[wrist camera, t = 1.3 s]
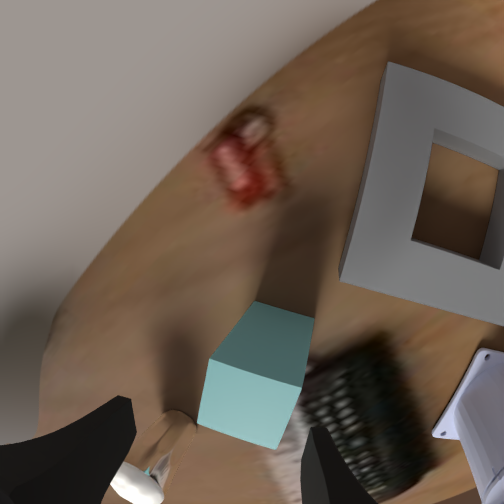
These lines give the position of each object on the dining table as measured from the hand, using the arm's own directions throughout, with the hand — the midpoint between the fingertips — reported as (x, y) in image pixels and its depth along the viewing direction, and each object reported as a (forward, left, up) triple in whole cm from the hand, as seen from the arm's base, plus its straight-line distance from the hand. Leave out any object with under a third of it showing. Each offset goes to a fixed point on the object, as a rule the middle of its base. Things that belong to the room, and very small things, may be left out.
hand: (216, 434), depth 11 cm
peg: (-1, 0, -10) cm, 10 cm away
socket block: (-9, -12, -10) cm, 18 cm away
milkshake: (+5, +11, -10) cm, 16 cm away
